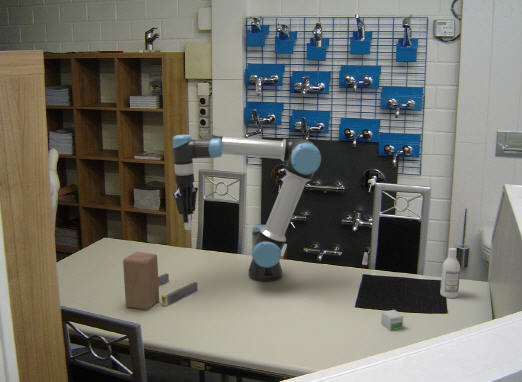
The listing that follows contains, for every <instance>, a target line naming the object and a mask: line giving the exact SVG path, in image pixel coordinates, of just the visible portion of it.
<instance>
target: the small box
mask: <svg viewBox="0 0 522 382" xmlns="http://www.w3.org/2000/svg"><path fill="white" fill-rule="evenodd" d="M380 323H381V325H382V326H383V327H385V328H386V329H387V330H389V331H394V330H398V329H402V328H403V327H404V326H403V325H404V324H403V323H404V315H403V314H402V313H400V312H398V311H397V310H396V309H392V310H387V311H382V312H381V322H380Z"/></svg>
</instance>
